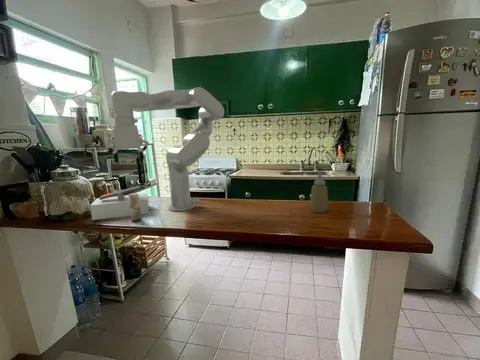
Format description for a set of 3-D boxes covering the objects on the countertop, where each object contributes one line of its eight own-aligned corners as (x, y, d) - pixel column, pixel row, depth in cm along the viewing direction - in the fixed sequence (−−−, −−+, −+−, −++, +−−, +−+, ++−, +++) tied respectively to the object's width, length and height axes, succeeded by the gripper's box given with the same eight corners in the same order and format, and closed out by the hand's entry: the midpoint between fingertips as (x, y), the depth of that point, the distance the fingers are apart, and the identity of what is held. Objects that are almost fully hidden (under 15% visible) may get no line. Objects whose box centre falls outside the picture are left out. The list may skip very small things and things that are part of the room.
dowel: (141, 218, 111) (138, 192, 109) (141, 221, 107) (138, 194, 105) (131, 219, 110) (128, 193, 108) (131, 222, 106) (128, 195, 104)
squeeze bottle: (308, 213, 111) (309, 174, 108) (310, 208, 119) (311, 171, 116) (327, 214, 108) (328, 174, 105) (328, 209, 116) (329, 172, 113)
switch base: (148, 206, 132) (146, 186, 130) (148, 213, 119) (146, 191, 117) (98, 211, 124) (95, 191, 122) (92, 220, 111) (89, 197, 109)
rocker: (140, 187, 124) (139, 185, 124) (139, 189, 120) (138, 187, 120) (102, 197, 119) (101, 195, 119) (100, 200, 115) (99, 197, 114)
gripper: (146, 122, 110) (150, 160, 113) (103, 123, 104) (108, 163, 107) (146, 121, 103) (151, 161, 106) (100, 122, 97) (106, 164, 100)
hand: (129, 162), depth 107 cm, fingers open, 9 cm apart
